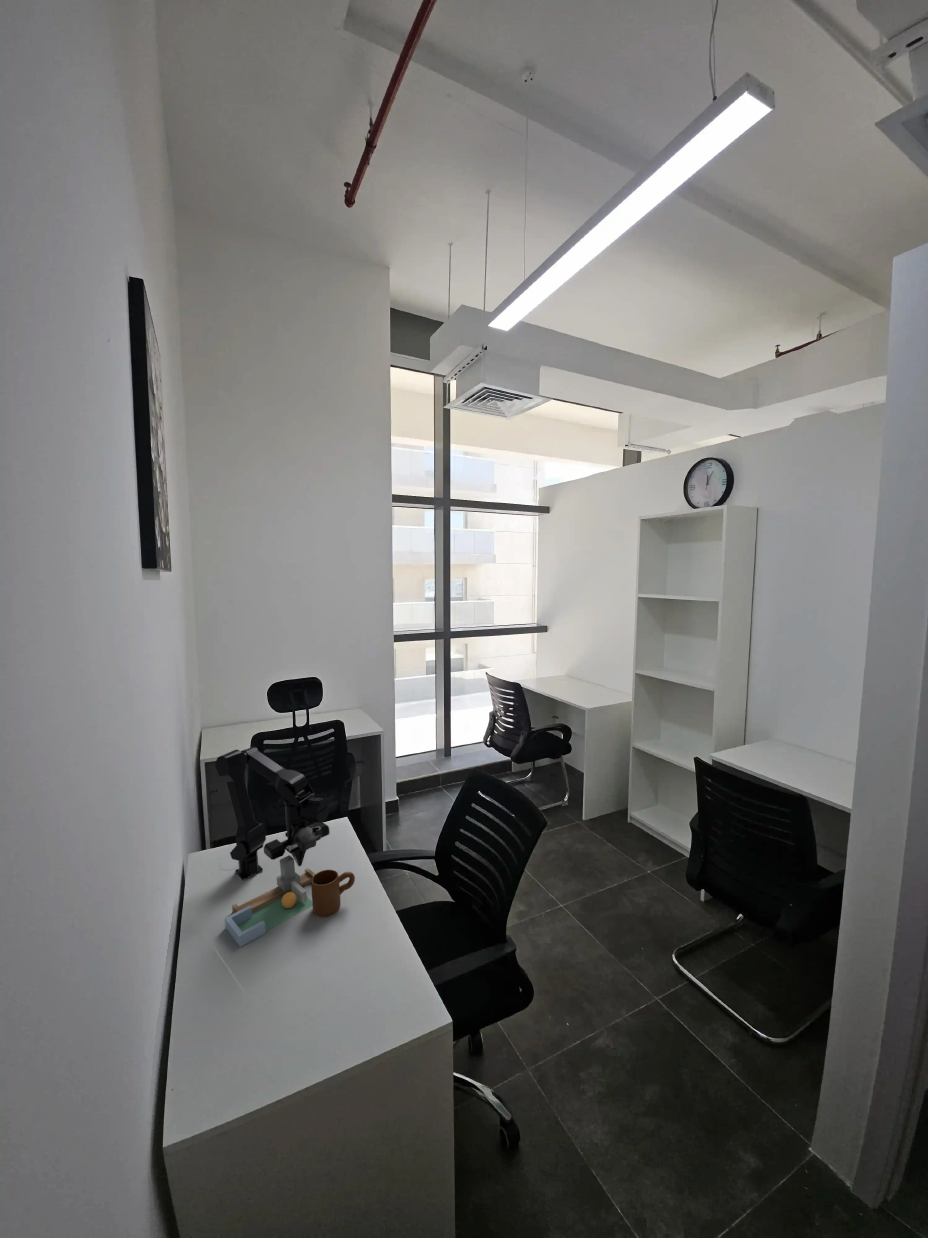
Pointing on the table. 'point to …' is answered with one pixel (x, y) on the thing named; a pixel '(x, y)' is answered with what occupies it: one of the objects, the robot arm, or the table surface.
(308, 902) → the pitch mat
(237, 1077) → the table surface
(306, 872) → the rail
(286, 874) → the kicker
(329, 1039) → the table surface
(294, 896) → the ball
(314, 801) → the robot arm
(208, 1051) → the table surface
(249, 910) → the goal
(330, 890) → the mug
